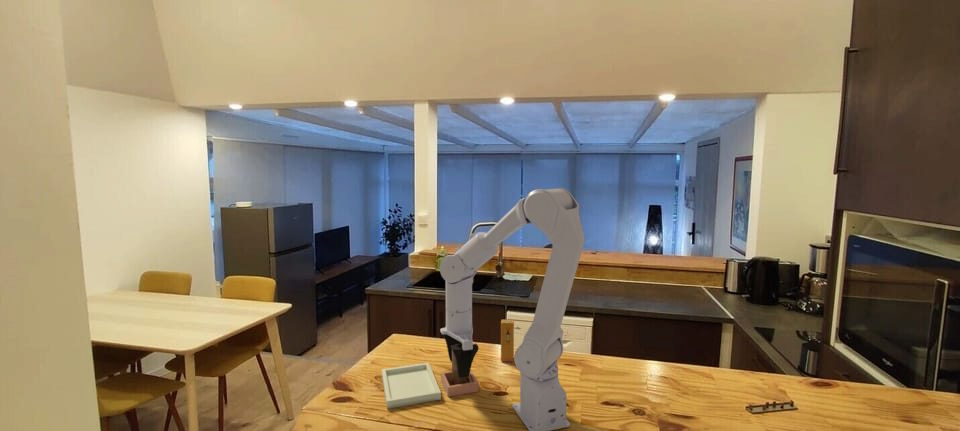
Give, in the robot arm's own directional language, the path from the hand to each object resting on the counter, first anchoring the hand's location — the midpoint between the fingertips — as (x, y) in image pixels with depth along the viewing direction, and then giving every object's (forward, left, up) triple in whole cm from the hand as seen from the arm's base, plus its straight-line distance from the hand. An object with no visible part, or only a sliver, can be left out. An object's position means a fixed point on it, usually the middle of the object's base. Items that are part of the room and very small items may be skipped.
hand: (459, 368), depth 89 cm
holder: (0, 0, -4) cm, 4 cm away
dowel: (0, 0, -4) cm, 4 cm away
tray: (+3, +10, -4) cm, 12 cm away
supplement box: (+9, -15, -4) cm, 18 cm away
